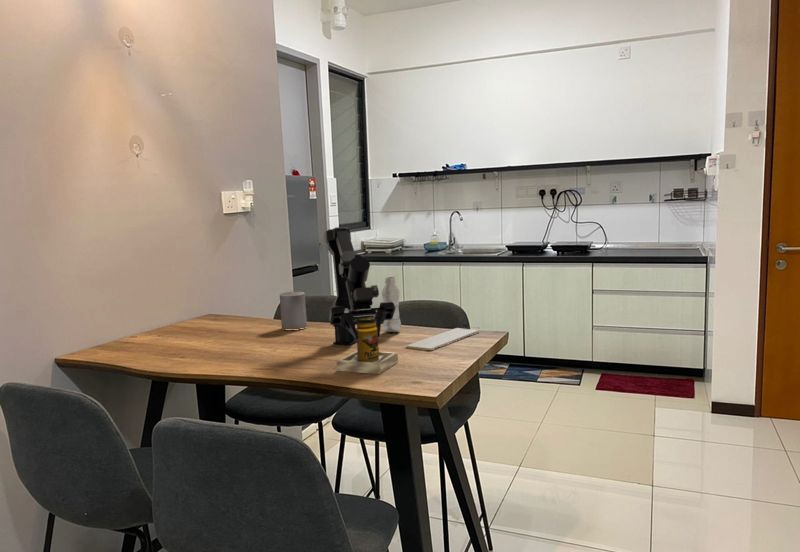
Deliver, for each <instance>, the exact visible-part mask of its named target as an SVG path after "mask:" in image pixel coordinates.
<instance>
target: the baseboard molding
mask: <svg viewBox="0 0 800 552" xmlns="http://www.w3.org/2000/svg"><path fill="white" fill-rule="evenodd" d="M455 326H456V325H455V324H453V326H452V327H451V329H450V331H449V330H447V331H444V332H441V333H439V334H435V335H432V336H433V337H432V336H430V337H427V338H424V339H422V340H419V341H416V343H415V342H412V343H410V344H407V345H405V346H403V347H406V348H405V349H409V348H414V349H413V350H416V349H422V350H421V351H424V350H433V349H435V348H438V347H440V348H442V347H441V346H443V345H445V344H448V343H451V342H453V341H456V340H458V341H460V340H459V339H461V338H464V337H466V338H468V337H467V336H469V335H471V336H473V335H472V334H474V335H476V334H475V333H477V334H479V333H480V330H479V329H480V327H477V329H474V328H476V327H473V326H472V328H473V329H472V328H466V327H468V325H466V324H462V327H465V328H462V327H461V328H459V327H456V328H454V327H455ZM476 331H479V332H476ZM469 337H470V336H469ZM464 339H465V338H464ZM461 340H462V339H461ZM456 342H457V341H456ZM453 343H454V342H453ZM451 344H452V343H451ZM448 345H449V344H448ZM443 347H444V346H443ZM438 349H439V348H438ZM435 350H436V349H435ZM433 351H434V350H433Z"/></svg>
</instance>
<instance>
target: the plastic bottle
mask: <svg viewBox="0 0 800 552" xmlns="http://www.w3.org/2000/svg"><path fill="white" fill-rule="evenodd" d="M384 284H385V285H384V286H383V288H382V290H381V297H382V298H381V299H382V302H393V303H394V305H395V312H394V315H393V318H392V319H390V320H385V321H384V322H382V328H383V331H384V332H386V333H389V332H394V333H398V332H400V331H401V328H402V322H401V318H400V317H401V316H400V311H399V303H400V302H399V301H400V289H399V288H398V286H397V285H396V277H395V276H390V277H389V276H388V277H385V278H384Z"/></svg>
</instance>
